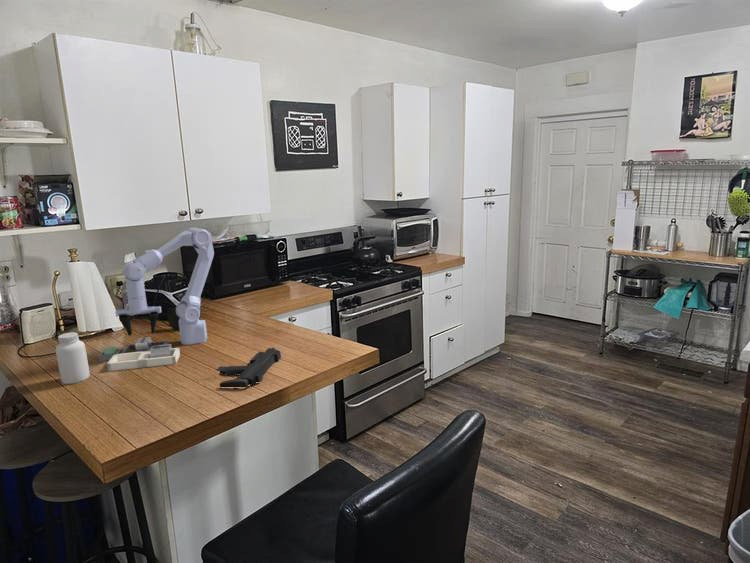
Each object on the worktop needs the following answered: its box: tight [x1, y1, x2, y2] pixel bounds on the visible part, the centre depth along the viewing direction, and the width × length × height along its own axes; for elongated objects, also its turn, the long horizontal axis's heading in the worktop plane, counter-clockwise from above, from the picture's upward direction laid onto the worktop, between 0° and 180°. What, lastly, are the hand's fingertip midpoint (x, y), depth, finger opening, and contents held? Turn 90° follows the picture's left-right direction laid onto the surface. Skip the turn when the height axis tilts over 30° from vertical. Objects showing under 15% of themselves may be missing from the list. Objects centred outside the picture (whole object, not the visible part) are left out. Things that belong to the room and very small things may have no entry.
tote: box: [121, 340, 169, 354], centre depth 175 cm, size 14×12×2 cm
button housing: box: [98, 347, 123, 364], centre depth 171 cm, size 6×6×3 cm
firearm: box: [215, 347, 282, 388], centre depth 160 cm, size 3×30×20 cm
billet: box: [134, 336, 153, 352], centre depth 175 cm, size 4×6×5 cm, turn 13°
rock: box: [166, 307, 202, 330], centre depth 203 cm, size 13×4×10 cm, turn 91°
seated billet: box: [150, 343, 173, 358], centre depth 166 cm, size 4×6×5 cm, turn 103°
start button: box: [103, 346, 118, 355], centre depth 171 cm, size 4×4×3 cm
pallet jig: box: [106, 347, 181, 372], centre depth 165 cm, size 21×9×4 cm, turn 103°
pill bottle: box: [55, 331, 91, 385], centre depth 154 cm, size 8×8×15 cm
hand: (141, 333), depth 174 cm, fingers open, 7 cm apart
